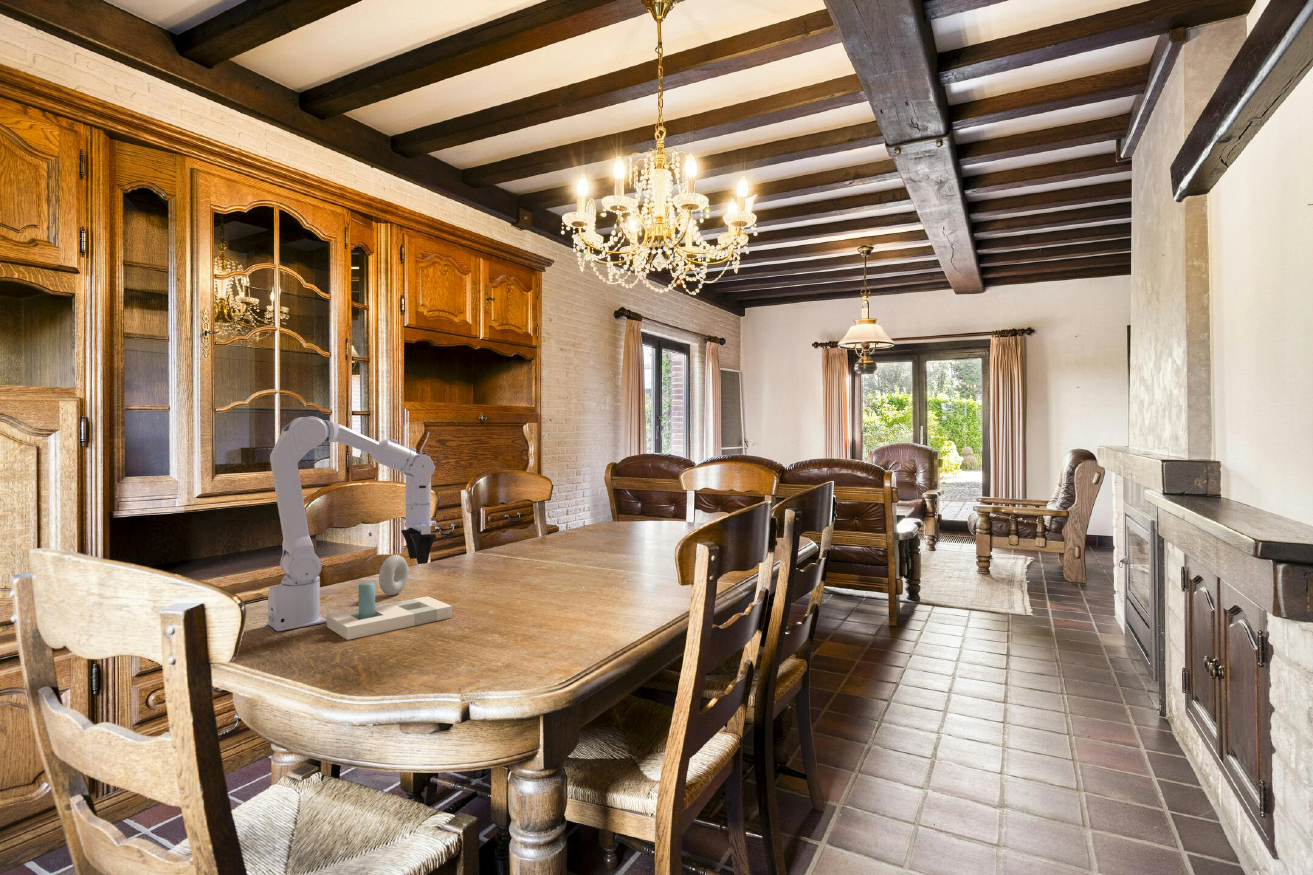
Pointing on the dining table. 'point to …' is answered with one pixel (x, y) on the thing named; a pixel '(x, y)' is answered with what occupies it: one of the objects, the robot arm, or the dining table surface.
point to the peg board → (389, 617)
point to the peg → (366, 600)
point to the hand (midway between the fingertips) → (418, 560)
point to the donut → (393, 575)
